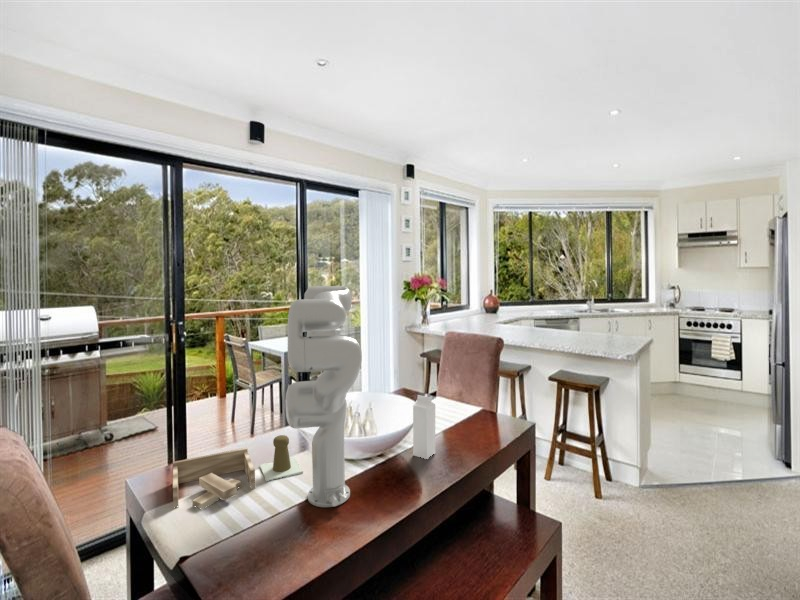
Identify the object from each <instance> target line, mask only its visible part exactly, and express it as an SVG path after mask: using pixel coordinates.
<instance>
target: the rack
mask: <svg viewBox="0 0 800 600" xmlns="http://www.w3.org/2000/svg"><path fill="white" fill-rule="evenodd" d="M249 454H250V453H249V451H248V447H247V446H246V447H242V448H238V449H237V448H236V449H231V450H227V451H222V452H221V451H220V452H217V453H212V454H206V455H202V456H201V455H200V456H196V457H192V458H191V457H190V458H186V459H182V460H181V459H180V460H176V461H173V462H172V466H173V467H172V469H173V470H172V501H173V508H174V507H177V506H178V507H179V484H182V483H183V484H184V483H188V482H192V481H196V480H199V478H200V477H203V476H205V475H208V474H210V473H213V474H215V475H217V476H220V475H225V474H229V473H233V472H238V471H242V470H244V472H245V476H246V479H247V481H248V483H249V487H250V486H251V487H250V490H254V489H253V488H255V489H256V470H255V466H254V465H253V462H252V460H251V457H250V455H249Z"/></svg>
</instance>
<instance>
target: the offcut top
mask: <svg viewBox="0 0 800 600" xmlns="http://www.w3.org/2000/svg"><path fill="white" fill-rule="evenodd" d="M198 480H199V481H198V482H199V483H198V484H199V487H201V488H203V490H206V491H207V492H208V491H209V492H211V493H213V494H214V495H216V496H218V497H219V498H221V499H220V500H223V501H225V500H227V499H230V498H233V497H234V496H236V495H237V493H238V492H237V491H238V489H236V486H235V485H233V484H232V483H230V482H228V480H226V479H223V477H221V476H220V475H215V474H213V473H210V474H208V475H205V476H203V477H200V478H199V479H198Z"/></svg>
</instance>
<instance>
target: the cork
mask: <svg viewBox="0 0 800 600" xmlns="http://www.w3.org/2000/svg"><path fill="white" fill-rule="evenodd" d="M272 441H273V447H274V453H273V454H274V455H273V461H272V462H273V471H275V472H284V471H287V470H289V469H290V468H291V464H290V458H291V457H290V452H289V446H288V445H289V443H290V438H289V437H288V436H287V435H285V434H283V435H281V434H279V435H277V436H275V437H274V439H273V440H272Z"/></svg>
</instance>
